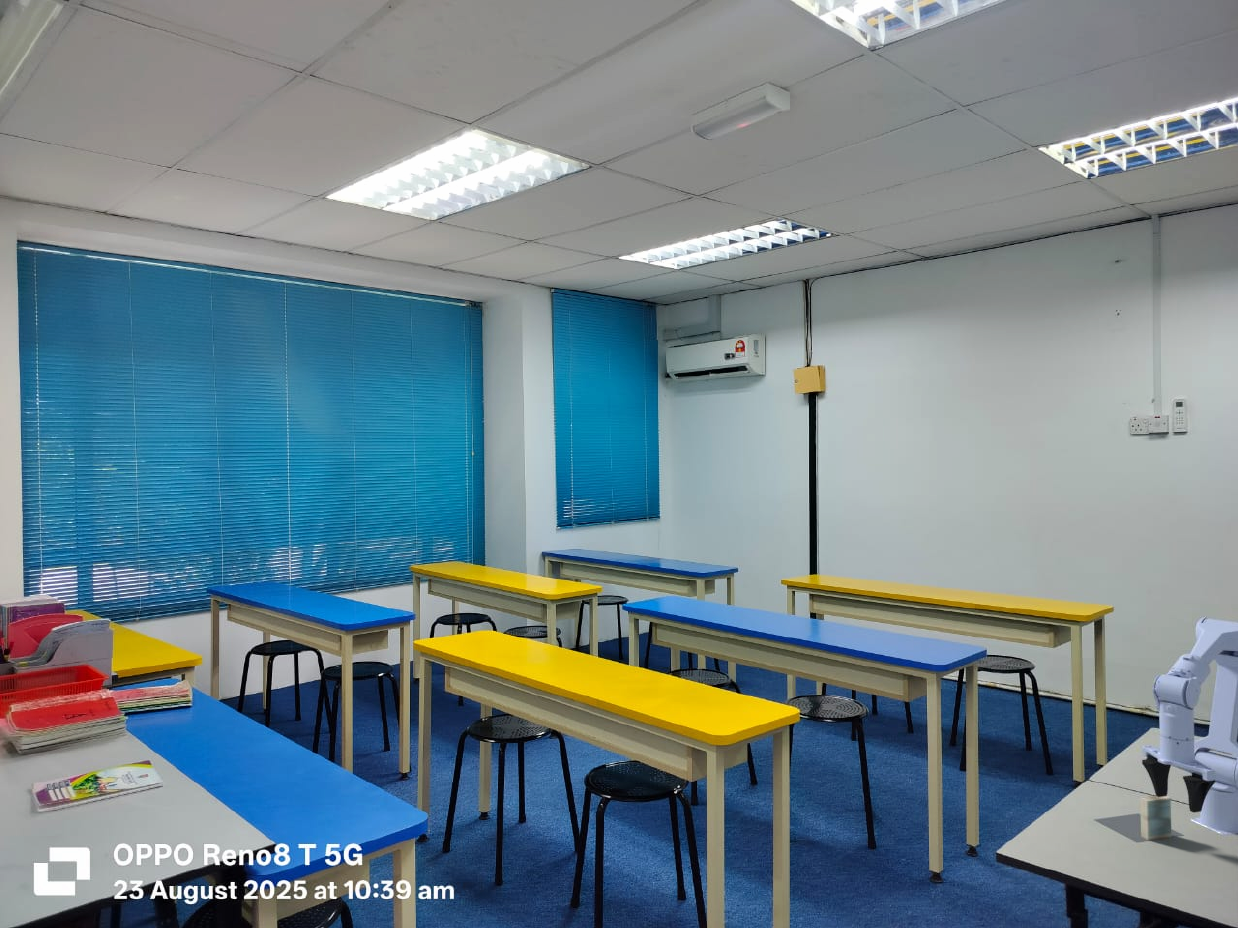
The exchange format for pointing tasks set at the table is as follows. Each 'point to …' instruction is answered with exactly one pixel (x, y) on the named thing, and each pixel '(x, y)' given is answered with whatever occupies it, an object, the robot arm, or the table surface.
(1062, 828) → the table surface
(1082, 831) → the table surface
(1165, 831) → the birch framed mirror
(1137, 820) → the rubber mat
